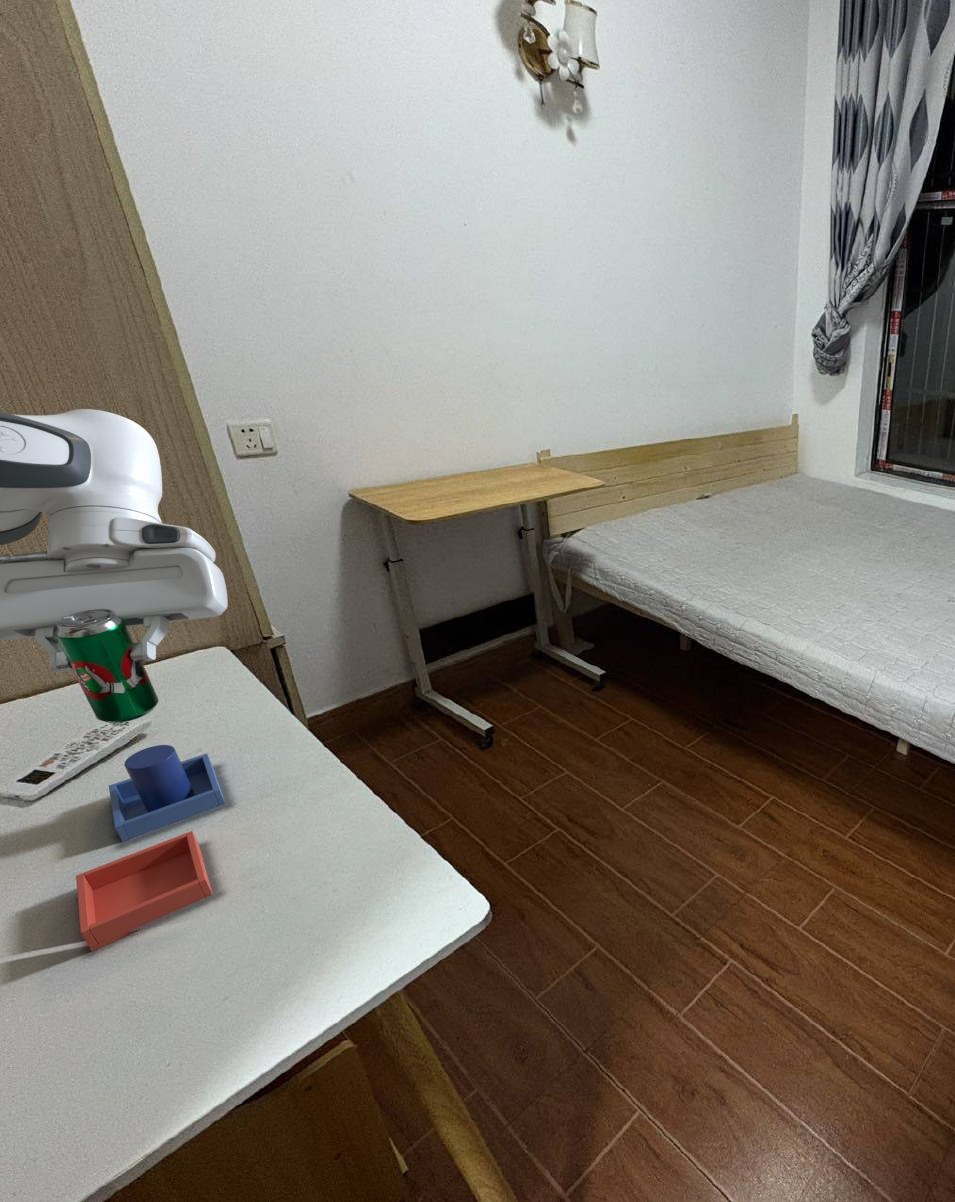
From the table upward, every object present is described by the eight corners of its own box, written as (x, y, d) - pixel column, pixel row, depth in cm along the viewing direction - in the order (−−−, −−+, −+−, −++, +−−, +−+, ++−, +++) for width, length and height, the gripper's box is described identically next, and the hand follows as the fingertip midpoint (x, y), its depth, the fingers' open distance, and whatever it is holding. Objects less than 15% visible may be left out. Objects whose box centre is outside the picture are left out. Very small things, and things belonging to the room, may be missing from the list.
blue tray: (123, 845, 74) (114, 827, 73) (117, 802, 80) (108, 785, 79) (226, 806, 81) (219, 789, 79) (214, 769, 86) (207, 752, 85)
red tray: (91, 951, 63) (80, 933, 62) (86, 893, 69) (75, 875, 68) (214, 897, 69) (205, 879, 68) (200, 847, 75) (192, 830, 74)
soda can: (149, 694, 76) (108, 602, 71) (168, 709, 74) (127, 616, 69) (90, 715, 72) (42, 619, 67) (108, 731, 70) (60, 634, 65)
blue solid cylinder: (138, 817, 78) (115, 771, 74) (157, 792, 81) (136, 747, 78) (184, 810, 79) (163, 765, 76) (200, 786, 83) (181, 742, 80)
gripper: (-48, 544, 66) (-60, 675, 63) (208, 527, 75) (211, 642, 71) (-3, 568, 72) (-11, 689, 68) (231, 550, 80) (235, 657, 76)
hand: (104, 665), depth 70 cm, fingers closed on soda can, 5 cm apart
